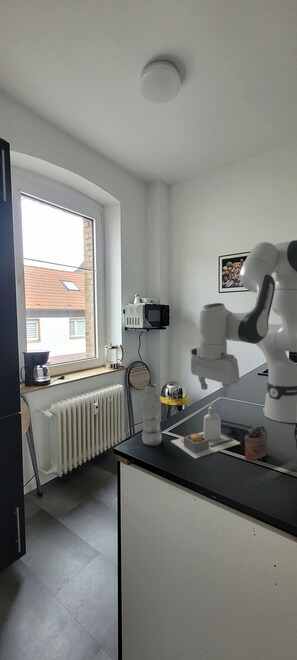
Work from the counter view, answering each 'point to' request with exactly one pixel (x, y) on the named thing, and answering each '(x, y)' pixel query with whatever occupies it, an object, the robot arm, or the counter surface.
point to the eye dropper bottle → (212, 424)
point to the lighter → (255, 443)
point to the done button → (196, 437)
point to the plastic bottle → (151, 416)
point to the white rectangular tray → (204, 445)
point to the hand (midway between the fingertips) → (213, 392)
